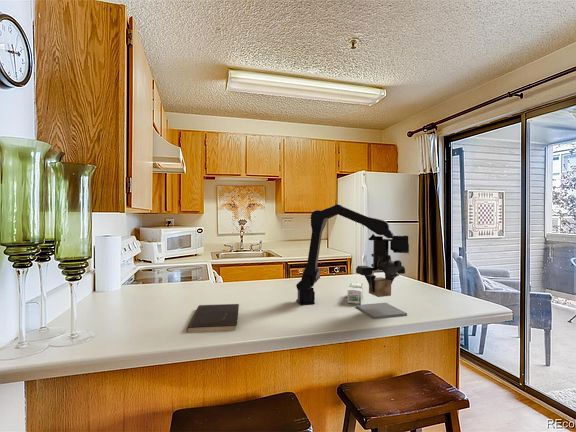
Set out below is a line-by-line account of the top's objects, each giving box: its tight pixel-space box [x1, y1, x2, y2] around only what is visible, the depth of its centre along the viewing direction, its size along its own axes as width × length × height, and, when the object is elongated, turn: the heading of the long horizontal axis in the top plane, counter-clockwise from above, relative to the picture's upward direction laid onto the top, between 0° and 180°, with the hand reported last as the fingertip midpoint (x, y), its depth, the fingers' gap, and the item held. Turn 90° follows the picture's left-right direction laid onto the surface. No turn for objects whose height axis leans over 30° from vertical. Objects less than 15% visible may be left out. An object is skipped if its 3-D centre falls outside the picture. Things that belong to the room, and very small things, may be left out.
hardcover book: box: [185, 303, 240, 333], centre depth 110 cm, size 16×23×2 cm
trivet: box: [355, 302, 408, 319], centre depth 120 cm, size 14×14×1 cm
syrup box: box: [347, 282, 364, 305], centre depth 136 cm, size 6×6×14 cm
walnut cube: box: [368, 276, 392, 298], centre depth 120 cm, size 6×6×6 cm
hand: (380, 291), depth 120 cm, fingers closed on walnut cube, 6 cm apart
